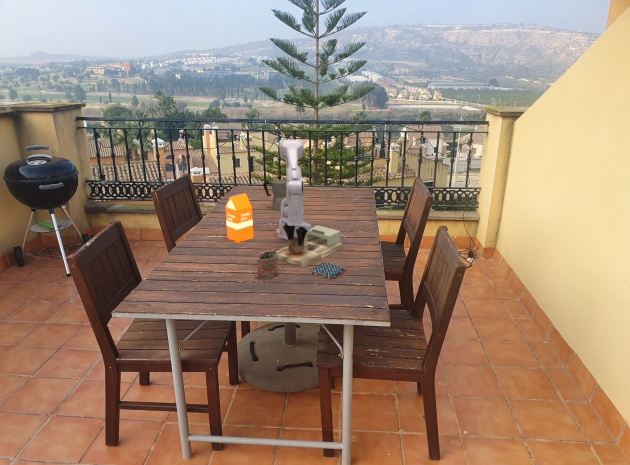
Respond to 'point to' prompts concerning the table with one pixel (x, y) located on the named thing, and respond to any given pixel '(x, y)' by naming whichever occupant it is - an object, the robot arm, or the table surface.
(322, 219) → the table surface
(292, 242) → the walnut block
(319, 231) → the slide cover
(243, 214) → the orange juice
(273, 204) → the coffeepot
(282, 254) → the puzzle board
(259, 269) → the lighter
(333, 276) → the woven mat
